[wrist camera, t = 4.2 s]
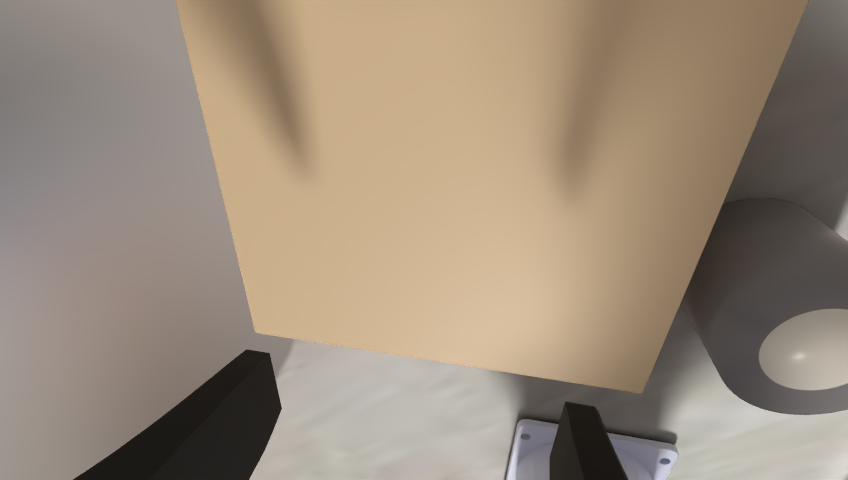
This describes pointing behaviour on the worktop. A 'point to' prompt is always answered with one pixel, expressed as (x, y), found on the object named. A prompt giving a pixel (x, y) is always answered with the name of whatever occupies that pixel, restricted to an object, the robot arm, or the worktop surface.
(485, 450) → the worktop surface
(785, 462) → the worktop surface
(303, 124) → the lid
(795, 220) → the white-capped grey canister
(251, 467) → the robot arm
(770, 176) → the worktop surface
